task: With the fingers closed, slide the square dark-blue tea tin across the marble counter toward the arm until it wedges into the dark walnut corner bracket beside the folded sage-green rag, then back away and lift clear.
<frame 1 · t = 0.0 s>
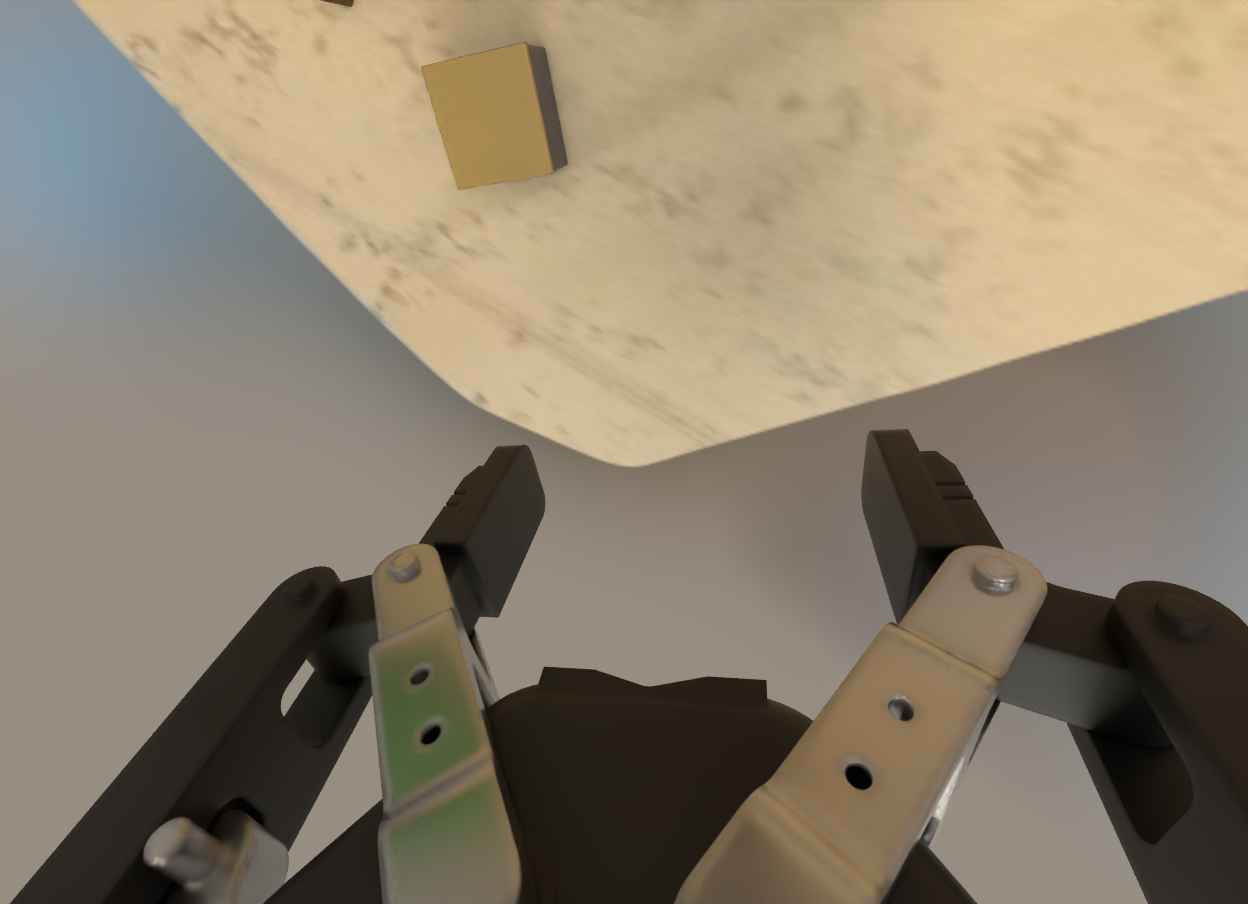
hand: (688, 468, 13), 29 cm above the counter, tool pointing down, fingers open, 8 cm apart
tea tin: (511, 118, 35), on the counter
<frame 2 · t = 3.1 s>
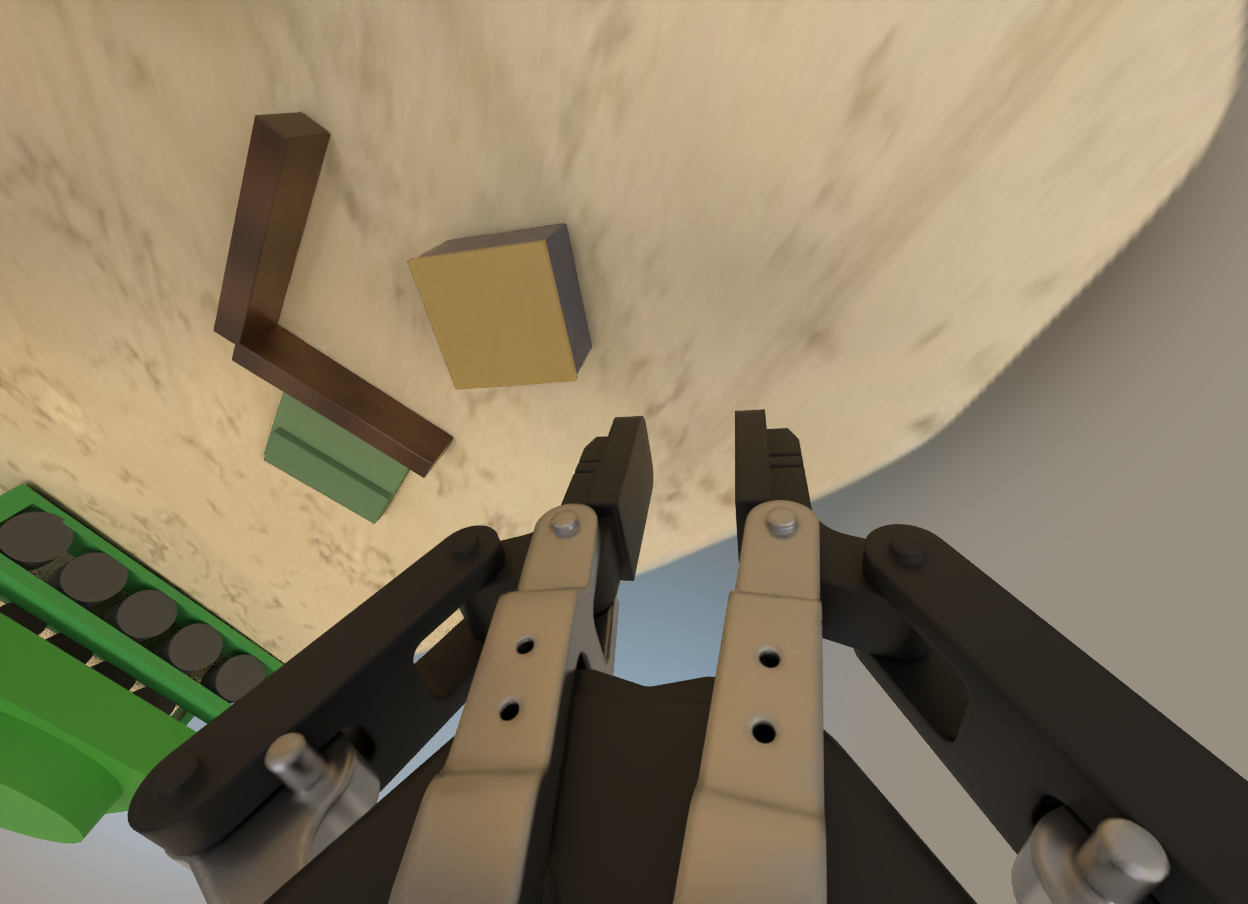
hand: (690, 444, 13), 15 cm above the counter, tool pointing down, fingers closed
tea tin: (522, 295, 28), on the counter
corner guide: (277, 324, 32), on the counter
tank: (105, 597, 55), on the counter
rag: (341, 453, 37), on the counter
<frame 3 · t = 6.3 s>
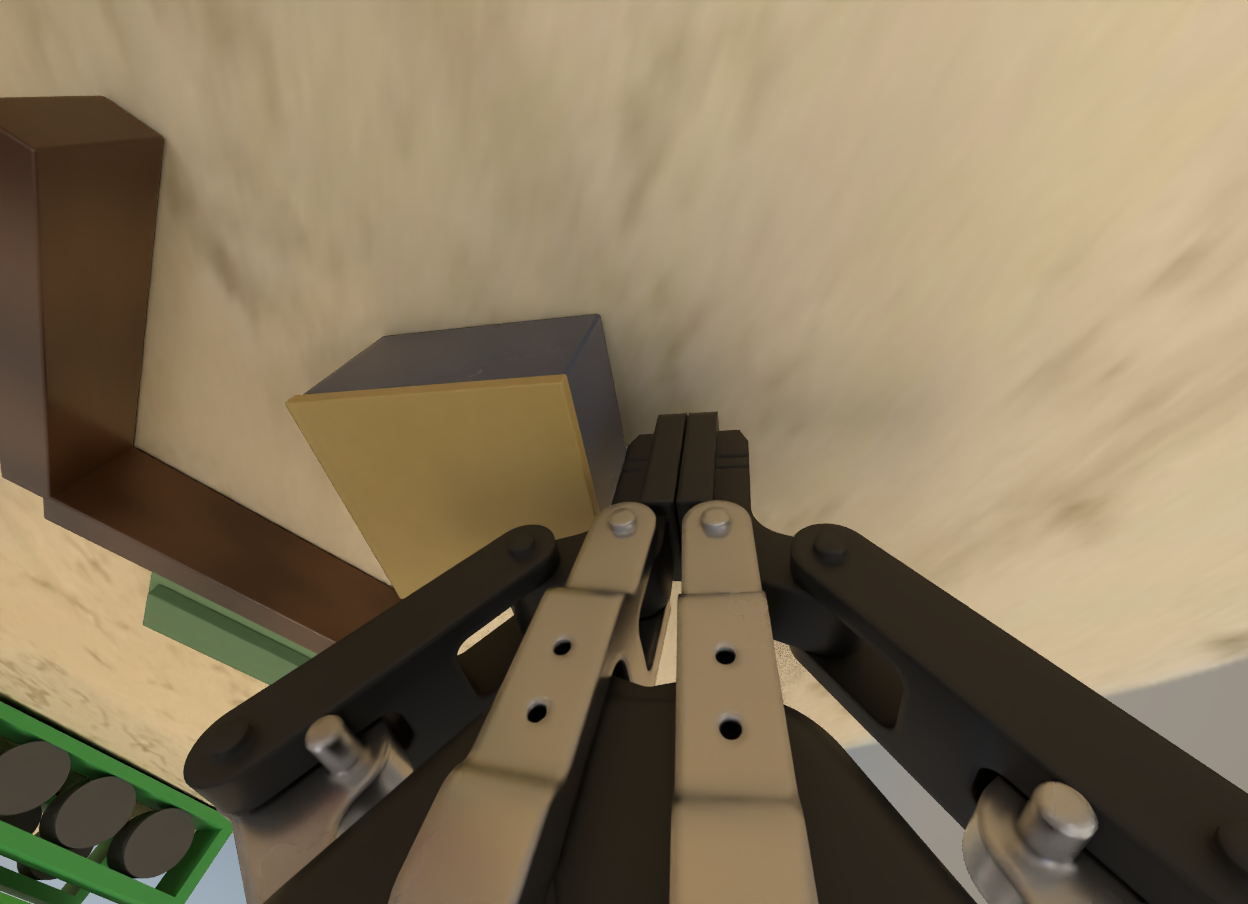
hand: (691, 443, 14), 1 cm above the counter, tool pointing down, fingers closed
tea tin: (518, 425, 16), on the counter, touching gripper
corner guide: (134, 446, 19), on the counter
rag: (261, 612, 25), on the counter
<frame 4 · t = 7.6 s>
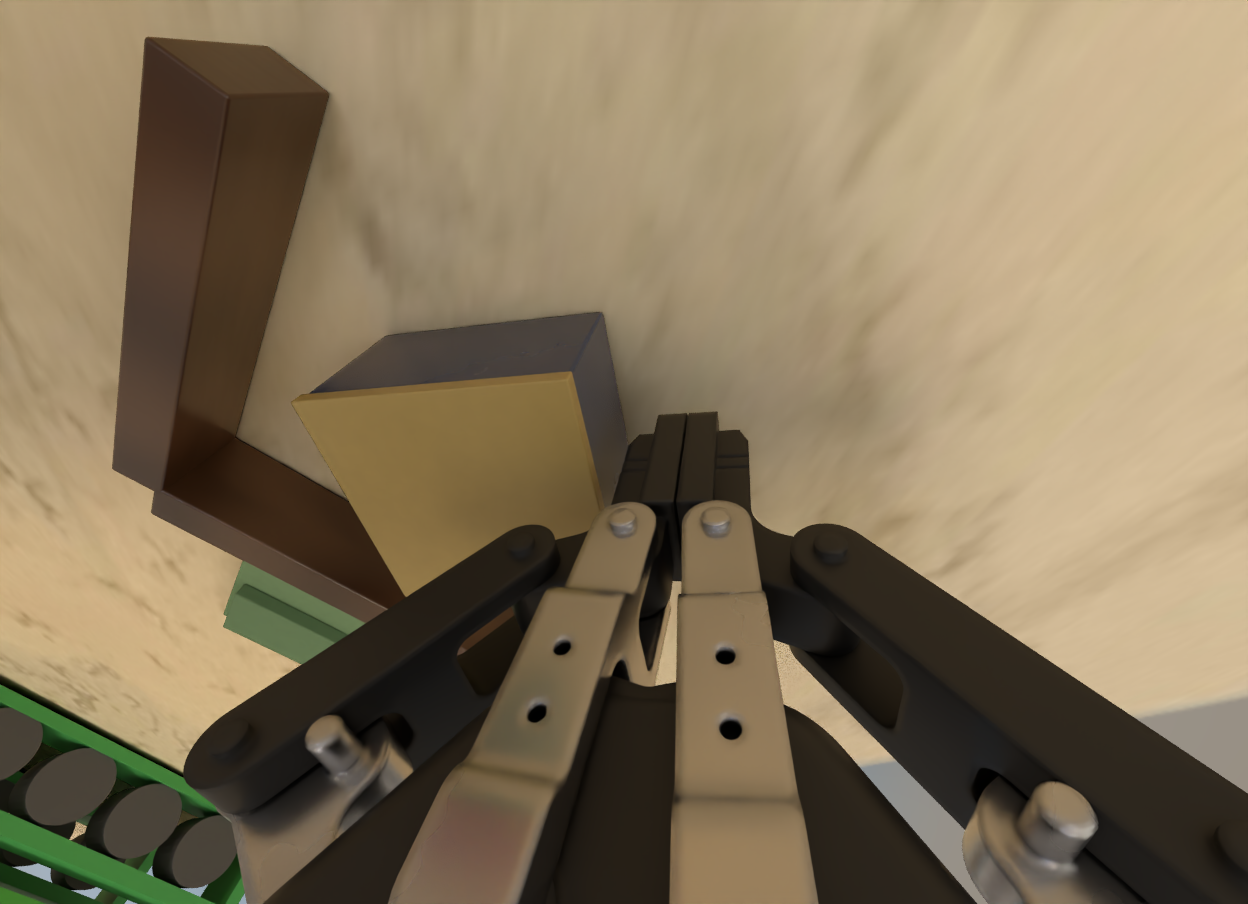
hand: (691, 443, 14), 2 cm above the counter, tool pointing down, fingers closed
tea tin: (520, 424, 16), on the counter, touching gripper
corner guide: (236, 437, 18), on the counter
tank: (24, 739, 42), on the counter
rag: (346, 613, 24), on the counter
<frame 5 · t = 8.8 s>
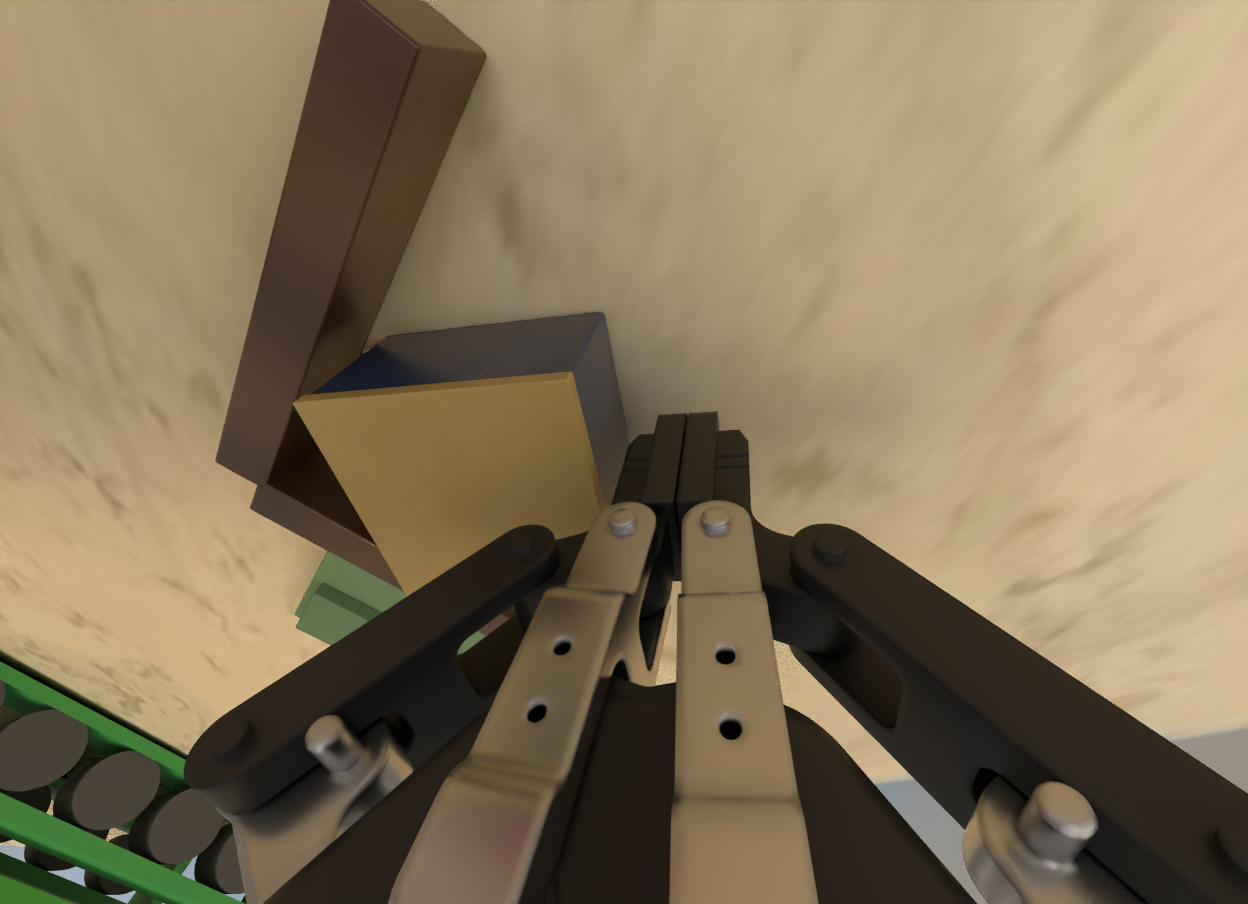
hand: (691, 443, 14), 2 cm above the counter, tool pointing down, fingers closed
tea tin: (522, 424, 16), on the counter, touching gripper
corner guide: (329, 429, 17), on the counter
tank: (62, 741, 41), on the counter
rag: (422, 613, 23), on the counter
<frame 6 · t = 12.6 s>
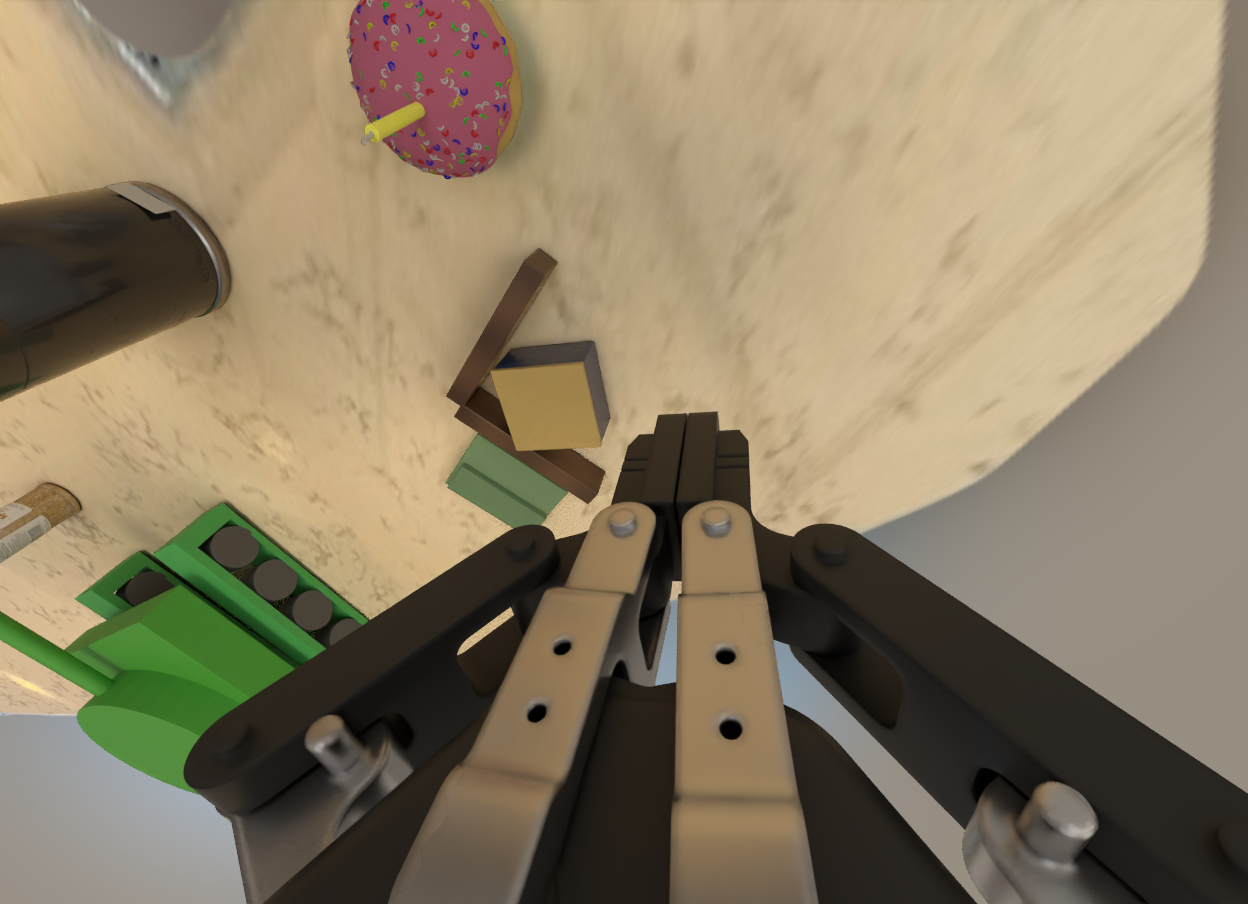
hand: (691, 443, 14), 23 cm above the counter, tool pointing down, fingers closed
tea tin: (561, 384, 40), on the counter
corner guide: (480, 387, 41), on the counter
tank: (260, 596, 65), on the counter
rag: (508, 482, 47), on the counter
cupcake: (473, 81, 30), on the counter
sprinkles bottle: (64, 496, 60), on the counter
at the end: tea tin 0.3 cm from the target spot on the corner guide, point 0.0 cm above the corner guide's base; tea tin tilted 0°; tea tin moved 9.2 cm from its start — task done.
